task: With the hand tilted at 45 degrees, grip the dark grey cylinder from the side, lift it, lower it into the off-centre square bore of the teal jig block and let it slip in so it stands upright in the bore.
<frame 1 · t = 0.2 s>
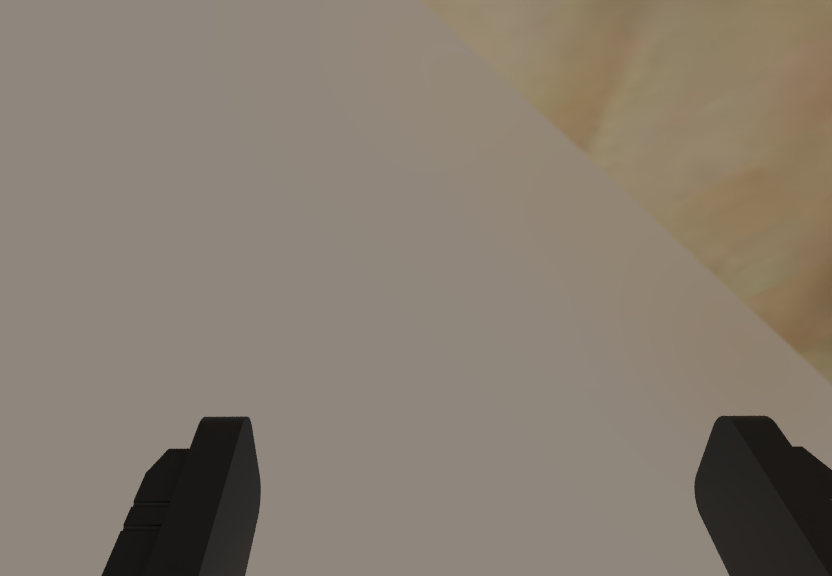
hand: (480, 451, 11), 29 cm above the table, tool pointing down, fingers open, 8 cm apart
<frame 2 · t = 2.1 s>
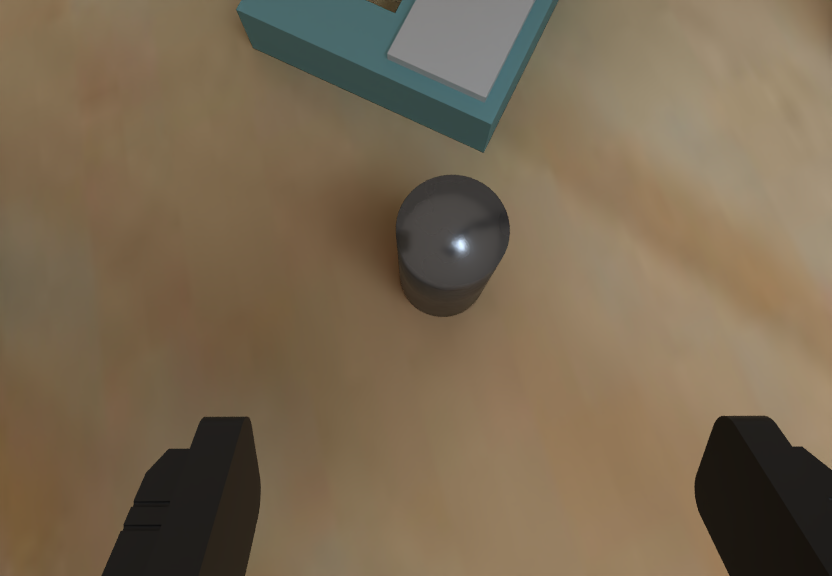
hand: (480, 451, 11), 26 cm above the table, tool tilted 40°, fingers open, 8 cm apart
dark grey cylinder: (442, 274, 38), on the table
jig: (415, 7, 41), on the table
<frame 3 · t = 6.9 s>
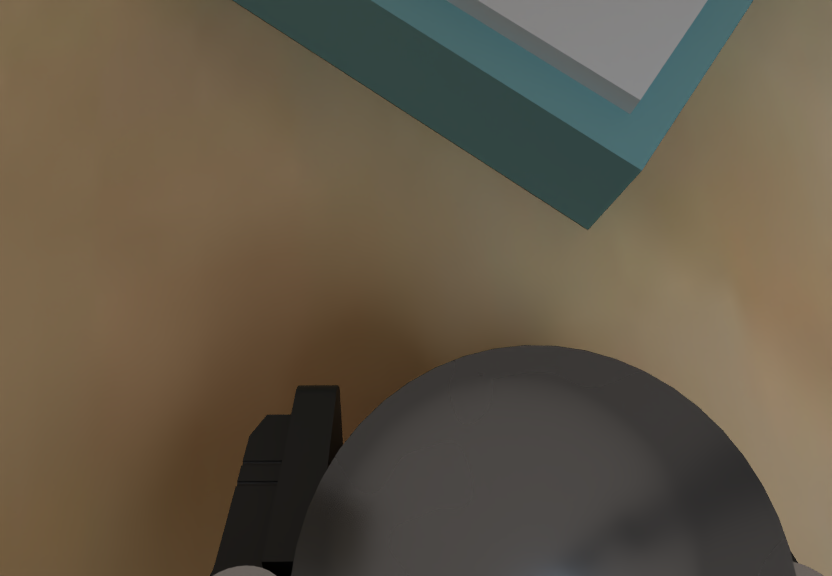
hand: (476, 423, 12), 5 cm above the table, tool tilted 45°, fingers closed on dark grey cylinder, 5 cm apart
dark grey cylinder: (455, 503, 16), on the table, touching gripper
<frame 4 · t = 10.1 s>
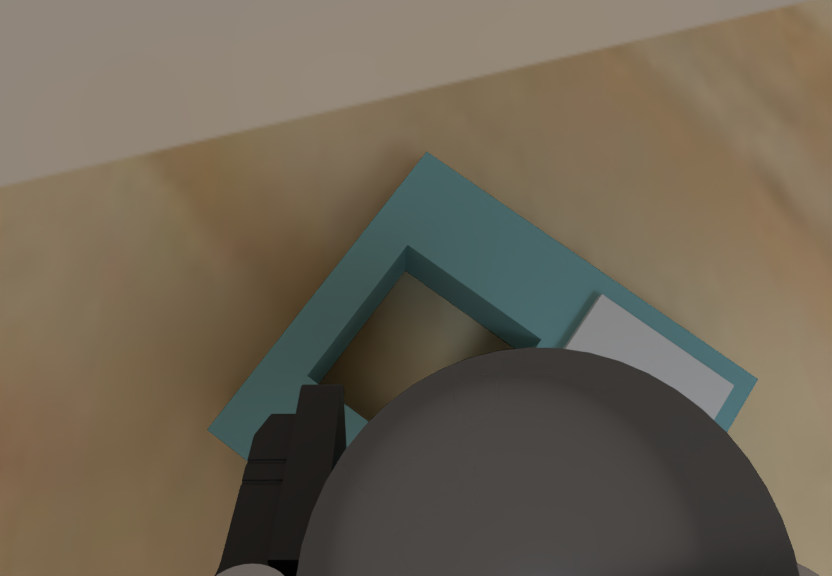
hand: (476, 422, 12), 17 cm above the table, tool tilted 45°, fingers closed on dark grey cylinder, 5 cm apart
dark grey cylinder: (456, 504, 16), point 12 cm above the table, touching gripper
jig: (475, 408, 29), on the table
when the fingers open (7 cm above the table, at t = 13.3 s): dark grey cylinder drops 2 cm, resting in jig.
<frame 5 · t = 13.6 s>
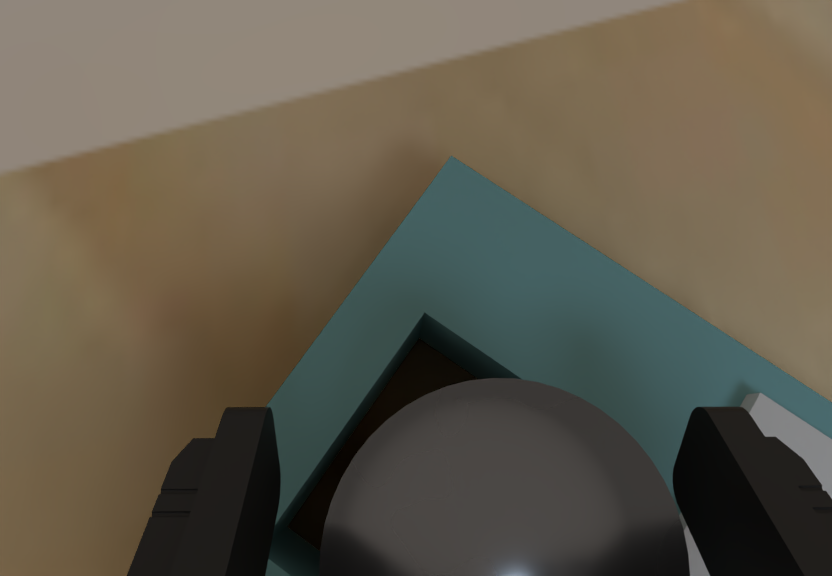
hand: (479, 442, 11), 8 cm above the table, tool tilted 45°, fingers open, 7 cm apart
dark grey cylinder: (448, 499, 18), resting in jig
jig: (536, 559, 18), on the table
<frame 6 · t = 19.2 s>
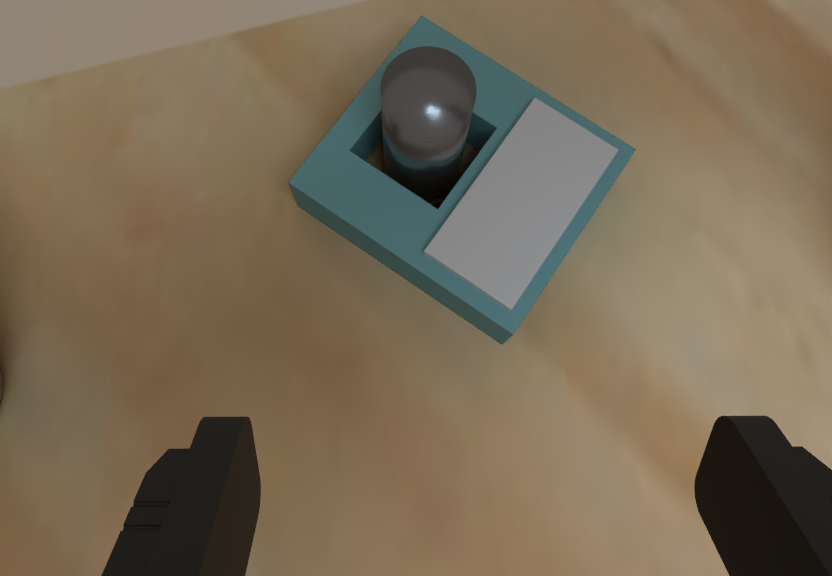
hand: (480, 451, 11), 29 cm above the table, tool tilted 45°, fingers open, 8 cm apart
dark grey cylinder: (421, 167, 43), resting in jig
jig: (458, 190, 43), on the table
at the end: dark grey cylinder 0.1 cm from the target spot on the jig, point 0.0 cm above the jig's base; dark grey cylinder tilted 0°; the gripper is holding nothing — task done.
